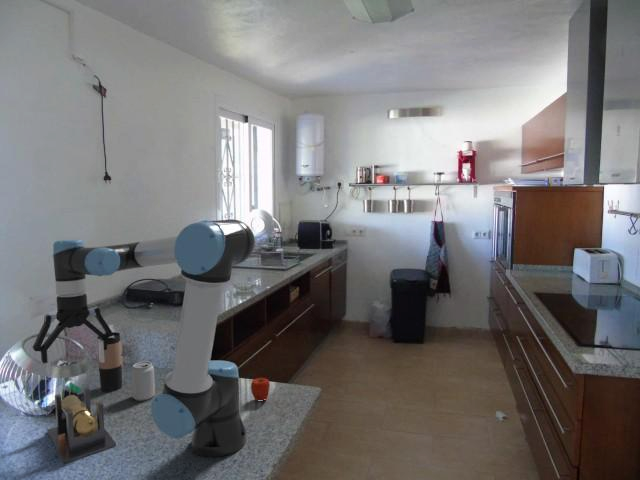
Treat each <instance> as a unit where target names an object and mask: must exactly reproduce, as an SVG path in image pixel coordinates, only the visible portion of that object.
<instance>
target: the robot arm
mask: <svg viewBox="0 0 640 480" xmlns="http://www.w3.org/2000/svg"><path fill="white" fill-rule="evenodd" d="M255 240H256V237H255V235H254V232H253V230H252V229H251V228H250V226H249V225H248V224H247V223H245V222H244V221H241V220H238V219H233V218H232V219H231V218H230V219H222V220H221V219H218V220H201V221H197V222H193V223H191V224H188V225H187V226H185V227H184V228H182V230H181V231H180V232H179V233H178V235H177V236H170V237H162V238H156V239H151V240H145V241H136V242H129V243H123V244H116V245H115V244H114V245H105V246H99V247H98V246H97V247H85V246H84V241H83V240H82V239H77V238H75V239H61V240H56V241H54V243H53V250H52V251H53V254H52V258H53V268H54V269H53V270H54V278H55V280H54V281H55V294H56V295H57V296H56V309H57V310H56V311H57V312H56V313H55V314H48V313H46V314H45V315H44V317H43V318H44V319H43V324H42V326H41V329H40V330H39V333H38V334H37V337H36V339H35V341H34V343H33V345H32V349H33V350H34V352H40V359H41V362H42V363H43V364H46V374H47V375H48V376H50V375H53V370H52V369H53V368H52V357H51V356H52V354H51V351H50V349H49V348H50V347H51V346H52V345H53V344H54V342H55V341H56V339H57V338H58V337H59V336H60V334H61V333H62V332H63V331H64V330H65V328H67V329H71V328H74V327H81V326H82V325H83V324H84V325H85V326H86V327H87V328H89V329H90V331H92V332H93V333H94V334H95V335H97V337H98V336H99V337H101V339H98V338H97V350H98V349H99V358H98V362H99V361H100V362H101V363H104V362H105V361H104V350H107V339H108V338H109V337H110V336H113V332H114V331H113V330H111V328H110V326H109V325H108V323H107V322H106V321H105V319H104V318H103V316H102V314H101V309H100V307H98V306H94V307H92V308H89V307H88V296H87V294H86V292H87V282H86V278H87V277H86V275H87V276H97V277H102V276H111V275H113V274H115V273H116V272H120V271H126V270H131V269H132V270H133V269H140V268H146V267H155V266H162V265H169V264H170V265H171V264H177V265H178V267H179V269H181V270H180V275H181V276H182V278H183V279H184V280H185V282H186V283H185V289H184V296H183V302H182V307H181V314H180V322H179V328H178V334H177V341H176V348H175V355H174V361H173V368H172V371H170V372H168V373H167V374H166V375H165V378H164V385H163V390H162V393H159V394H158V395H156V396H155V398H154V399H153V400H152V402H151V406H150V412H151V413H150V414H151V417H152V418H151V419H152V420H153V422H154V424H155V425H156V427H157V428H158V429H159V431H160V432H161V433H163V434H164V435H165V436H167V437H170V438H175V439H180V438H183V437H185V436H186V435H189V434H192V436H191V448H192V451H194V453H195V454H197V455H200V456H203V457H209V458H213V457H214V458H215V457H217V458H218V457H223V456H228V455H231V454H233V453H235V452H238V451H240V450H241V449H242V448H243V447H244V446H245V444H246V443H247V430H246V428H245V425H244V421H243V420H242V416H241V414H240V387H239V386H240V382H239V381H240V380H239V379H240V376H239V368H238V366H237V364H236V363H235V362H231V361H229V360H228V361H227V360H211V359H212V351H213V346H214V341H215V335H216V329H217V323H218V315H219V311H220V306H221V305H220V304H221V298H222V292H223V287H224V286H225V285H226V284H228V283H229V282H230V281H231V276H232V270H233V267H234V266H236V265H239V264H241V263H243V262H245V261H246V260H248V259H249V258H250V257H251V255H252V254H253V252H254V249H255V244H256V241H255ZM90 314H91V315H92V316H94V318H96V320H97V321H98V324H99V325H100V326H101V328H102V329H103V330H104V333H105V334H104V333H103V331H101V330H100V329H99V328H98V327H96V326H95V325H94V324H92V323H91V322H90V321H89V320H88V319H87V318H88V317H89V315H90ZM55 320H57V321H58V323H57V325H56V326H55V328H54V330H52V332H51V334H49V336H47V338H46V335H47V334H48V332H49V330H50V328H51V325H52V323H53V322H54V321H55ZM45 338H46V340H45ZM44 340H45V341H44Z"/></svg>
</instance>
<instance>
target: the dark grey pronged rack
mask: <svg viewBox="0 0 640 480" xmlns="http://www.w3.org/2000/svg"><path fill="white" fill-rule="evenodd" d="M90 390H91V389H90V388H89V386H85V387H83V390H82V391H83V405H84V406H85V407H86V408H87V409H88V411H89V412H90V413H91V414H92V411H91V410H92V409H91V394H90V393H91V391H90ZM61 402H62V395H60V394H59V393H58V394H55V395H54V403H55V404H54V406H55V418H56V420H55V421H56V426H55V427H51V428H49V429H47V430H46V432H47V434H48V436H49V438H50V439H51V442H52V444H53V445H54V448H55V447H56V448H55V450H56V451H57V453H58V455H59V457H60V458H61V460H62V462H63V464H64V465H65V464H68V463H71V462H74V461H76V460H81V459H82V458H85V457H88V456H91V455H94V454H96V453H100V452H102V451H103V452H104V451H106V450H109V449H111V448H114V447H116V446H117V442H116V441H115V440H114V439H113V438H112V436H111V434H109V432H108V431H107V430H106V429H105V414H104V413H105V412H104V403H103V402H102V401H99V402H96V417H97V418H96V417H95V415H92V416H93V417H94V418H95V419H96V421H97V422H98V428H97V430H96V431H95V432H94V433H93V434H92V435H90V436H88V437H83V436H81V435H80V434H79V433H78V432H77V430H76V429H75V427H74V426H73V413H72V411H71V410H70V411H67V412H66V414H65V415H63V410H62V406H61Z"/></svg>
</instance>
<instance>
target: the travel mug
mask: <svg viewBox="0 0 640 480" xmlns="http://www.w3.org/2000/svg"><path fill="white" fill-rule="evenodd" d="M112 332H113V336H110V337H109V338H108V339H107V350H104V361H105V362H104V363H101V362H100V361H99V360H98V372H99V381H100V382H99V383H100V389H101V390H100V391H101V392H103V393H111V392H115V391H118V390H121V389H122V387H123V360H122V359H123V358H122V346H121V344H122V343H121V342H122V341H121V333H119V332H114V331H112ZM105 333H106V332H104V333H103V334H105ZM98 339H101V337H99V336H98V335H97V340H98ZM97 352H98V355H97V356H98V359H99V349H98V348H97Z"/></svg>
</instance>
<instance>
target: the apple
mask: <svg viewBox="0 0 640 480" xmlns="http://www.w3.org/2000/svg"><path fill="white" fill-rule="evenodd" d="M269 380H270V379H267V378H266V377H257V378H255V379H253V380H252V381H251V383H250V389H251V393H252V396H253V398H254V399H255V400H256V399H257V400H264V399H266V400H267V399H268V396H269V391H270V382H271V381H269ZM257 400H256V401H257Z"/></svg>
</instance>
